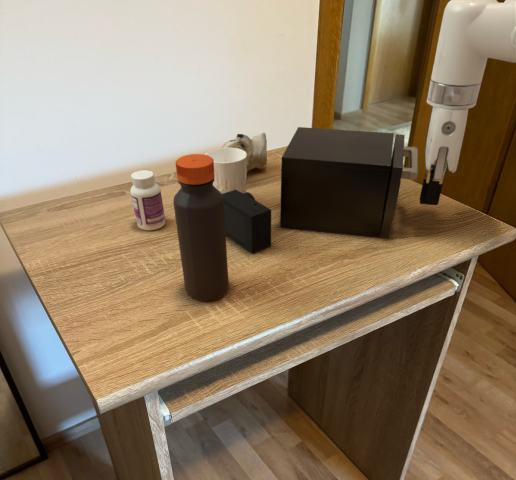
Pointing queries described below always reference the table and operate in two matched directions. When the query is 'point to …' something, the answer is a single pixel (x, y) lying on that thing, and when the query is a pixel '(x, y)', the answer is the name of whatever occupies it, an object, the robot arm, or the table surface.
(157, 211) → the pill bottle
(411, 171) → the oven door
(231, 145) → the ceramic sculpture
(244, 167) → the white cup
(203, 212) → the vinegar
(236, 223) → the digital camera
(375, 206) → the oven
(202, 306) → the table surface
